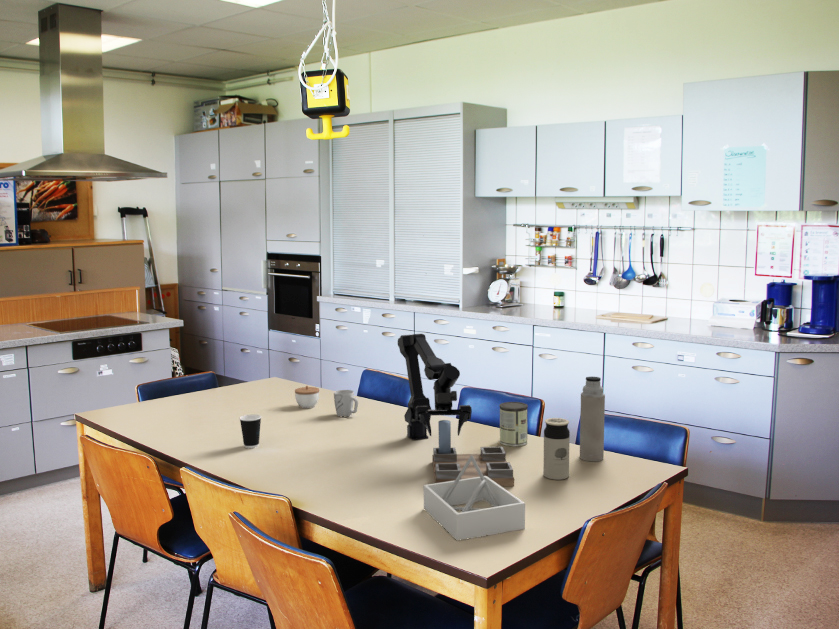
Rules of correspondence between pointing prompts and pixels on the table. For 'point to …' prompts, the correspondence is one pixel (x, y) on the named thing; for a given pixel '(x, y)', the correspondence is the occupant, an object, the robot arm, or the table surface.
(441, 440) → the stool leg
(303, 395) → the lidded jar
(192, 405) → the table surface
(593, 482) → the table surface
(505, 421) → the coffee can
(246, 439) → the dixie cup
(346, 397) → the mug
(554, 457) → the travel mug
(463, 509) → the wire frame
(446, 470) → the four-cup wooden tray
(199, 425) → the table surface
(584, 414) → the thermos bottle
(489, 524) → the open square box
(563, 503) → the table surface
